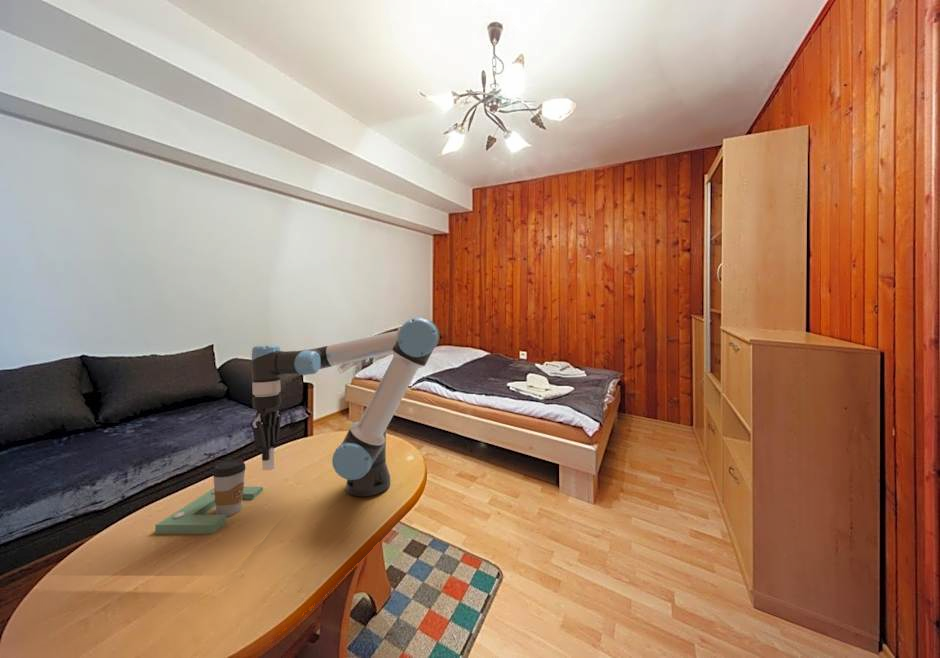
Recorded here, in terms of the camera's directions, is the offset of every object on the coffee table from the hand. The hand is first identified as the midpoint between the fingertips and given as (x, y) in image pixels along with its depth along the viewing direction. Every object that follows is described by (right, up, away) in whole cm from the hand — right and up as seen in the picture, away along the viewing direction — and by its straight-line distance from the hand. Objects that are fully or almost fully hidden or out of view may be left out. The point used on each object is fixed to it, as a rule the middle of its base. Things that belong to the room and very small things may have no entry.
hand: (268, 469), depth 101 cm
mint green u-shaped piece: (-18, -13, 0) cm, 22 cm away
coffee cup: (-12, -14, 0) cm, 18 cm away
